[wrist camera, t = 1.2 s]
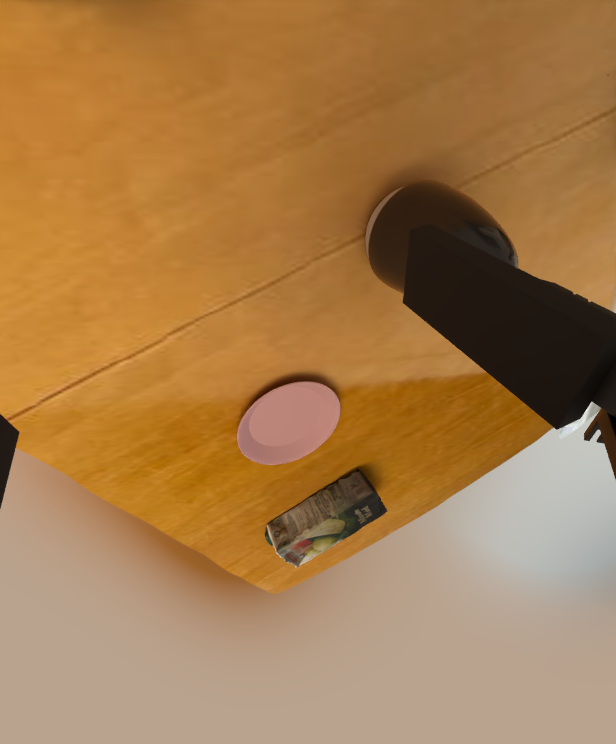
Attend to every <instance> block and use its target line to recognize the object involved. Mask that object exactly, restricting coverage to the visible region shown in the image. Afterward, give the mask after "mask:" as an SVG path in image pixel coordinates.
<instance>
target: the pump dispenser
mask: <svg viewBox="0 0 616 744" xmlns="http://www.w3.org/2000/svg"><path fill="white" fill-rule="evenodd" d="M426 224H431V225H433V226H435V227H437V228H439V229H441V230H443V231H445V232H447V233H449V234H451V235H453V236H455V237H457V238H459V239H461V240H463V241H465V242H467V243H469V244H471V245H473V246H475V247H477V248H479V249H481V250H483V251H485V252H487V253H489V254H491V255H493V256H495V257H497V258H499V259H501V260H503V261H505V262H506V263H508V264H510V265H512V266H514V267H516V268H518V256H517V253H516V250H515V247H514V245H513V243H512V241H511V239H510V238H509V236H508V235H507V233H506V232H505V231H504V229H503V228H502V227H501V225H500V224H499V223H498V222H497V221H496V220H495V218H494V217H493V216H492V215H491V214H490V213H489V212H488V211H487V210H486V209H485V208H483V207H482V206H481V205H480V204H479V203H477V202H476V201H475V200H473V199H472V198H470V197H469V196H467V195H465V194H464V193H462V192H460V191H458V190H457V189H455V188H453V187H451V186H449V185H446V184H444V183H441V182H437V181H432V180H422V181H417V182H414V183H411V184H409V185H407V186H403V187H401V188H399V189H397V190H395V191H393V192H392V193H390V194H389V195H388V196H386V197H385V198H384V199H383V200H382V201H381V202H380V203H379V205H378V206H377V207H376V209H375V210H374V212H373V214H372V216H371V218H370V220H369V223H368V226H367V230H366V236H365V246H366V252H367V256H368V259H369V261H370V265H371V268H372V270H373V272H374V273H375V275H376V276H377V277H378V278H379V279H380V280H381V281H382V282H383V283H385V284H386V285H388V286H389V287H391V288H393V289H395V290H397V291H399V292H401V293H403V294H404V284H405V273H406V262H407V251H408V240H409V229H412V228H416V227H419V226H423V225H426Z"/></svg>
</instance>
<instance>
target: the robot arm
mask: <svg viewBox="0 0 616 744" xmlns="http://www.w3.org/2000/svg"><path fill="white" fill-rule="evenodd" d="M403 303H404V304H405V305H406V306H407V307H409V308H410V309H411V310H412V311H413V312H415V313H416V314H417V315H418V316H419V317H421V318H422V319H423V320H424V321H426V322H427V323H428V324H429V325H430V326H432V327H433V328H434V329H435V330H436V331H438V332H439V333H440V334H441V335H443V336H444V337H445V338H446V339H447V340H449V341H450V342H451V343H452V344H453V345H455V346H456V347H457V348H458V349H460V350H461V351H462V352H463V353H464V354H466V355H467V356H468V357H469V358H470V359H472V360H473V361H474V362H475V363H476V364H478V365H479V366H480V367H481V368H483V369H484V370H485V371H486V372H487V373H489V374H490V375H491V376H492V377H493V378H495V379H496V380H497V381H498V382H500V383H501V384H502V385H503V386H504V387H506V388H507V389H508V390H509V391H510V392H512V393H513V394H514V395H515V396H517V397H518V398H519V399H520V400H521V401H523V402H524V403H525V404H526V405H527V406H529V407H530V408H531V409H532V410H534V411H535V412H536V413H537V414H538V415H540V416H541V417H542V418H543V419H544V420H546V421H547V422H548V423H549V424H550V425H552V426H553V427H554V428H555V429H559V428H562V427H564V426H566V425H568V424H570V423H572V422H574V421H576V420H578V419H580V418H581V417H582V415H583V414H584V412H585V411H586V409H587V408H588V406H589V404H590V403H591V401H592V402H594V403H595V404H597V405H598V406H599V407H601V410H600V411H599V413H598V414H597V416H596V417H595V418H594V420H593V421H592V423H591V424H590V426H589V427H588V429H587V430H586V432H585V433H584V440H587V441H590V439H591V438H592V436H593V435H594V434H595V432H596V431H597V430H599V429H600V431H601V435H600V436H599V438H598V439H597V442H599V443H604V444H605V447H606V450H607V453H608V456H609V459H610V463H611V466H612V469H613V472H614V476H615V479H616V313H614V312H612V311H610V310H608V309H606V308H604V307H602V306H600V305H598V304H596V303H594V302H588V299H586V298H584V297H582V296H580V295H578V294H575V295H574V294H573V292H572V291H570V290H568V289H566V288H564V287H562V286H560V285H558V284H556V283H553V282H549V281H545V280H541V279H538V278H536V277H534V276H532V275H530V274H528V273H526V272H524V271H522V270H520V269H518V268H516V267H514V266H512V265H510V264H508V263H506V262H505V261H503V260H501V259H499V258H497V257H495V256H493V255H491V254H489V253H487V252H485V251H483V250H481V249H479V248H477V247H475V246H473V245H471V244H469V243H467V242H465V241H463V240H461V239H459V238H457V237H455V236H453V235H451V234H449V233H447V232H445V231H443V230H441V229H439V228H437V227H435V226H433V225H431V224H426V225H423V226H419V227H416V228H412V229H409V240H408V251H407V262H406V273H405V284H404V296H403ZM18 435H19V431H18V430H17V429H15V428H14V427H13V426H12V425H11V424H10V423H9V422H8V421H7V420H6V419H5V418H4V417H3V416H2V415H1V414H0V508H1V503H2V500H3V496H4V492H5V488H6V484H7V480H8V475H9V471H10V468H11V463H12V460H13V456H14V452H15V448H16V443H17V439H18Z"/></svg>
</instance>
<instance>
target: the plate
mask: <svg viewBox="0 0 616 744" xmlns="http://www.w3.org/2000/svg"><path fill="white" fill-rule="evenodd" d="M339 417H340V402H339V399H338V397H337V395H336V394H335V393H334V392H333V391H332V390H331V389H330V388H329V387H327V386H325V385H323V384H320V383H317V382H309V381H302V382H294V383H289V384H286V385H283V386H280V387H278V388H276V389H273V390H271V391H270V392H268V393H266V394H265V395H263V396H262V397H261V398H259V399H258V400H257V401H256V402H255V403H254V404H253V405H252V406H251V407H250V408H249V409H248V410H247V411H246V413H245V414H244V416H243V418H242V419H241V421H240V424H239V427H238V431H237V442H238V446H239V448H240V450H241V452H242V453H243V454H244V455H245V456H246V457H247V458H248V459H250V460H252V461H254V462H257V463H260V464H267V465H277V464H284V463H288V462H292V461H295V460H297V459H300V458H302V457H304V456H306V455H308V454H309V453H311V452H313V451H314V450H315V449H317V448H318V447H319V446H321V445H322V444H323V443H324V442H325V441H326V440H327V439H328V438H329V436H330V435H331V434H332V432H333V431H334V429H335V427H336V425H337V423H338V420H339Z"/></svg>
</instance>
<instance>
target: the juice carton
mask: <svg viewBox="0 0 616 744" xmlns="http://www.w3.org/2000/svg"><path fill="white" fill-rule="evenodd" d="M324 489H325V488H324ZM324 489H323V490H321V491H319V492H317V494H316V495H314V496H311V497H310V498H308V499H306V500H305V501H303V502H302V503H300V504H299V505H297V506H295V507H294V508H292V509H291V510H289V511H288V512H285V513H284V514H282V515H280V516H278V517H277V518H275V519H274V520H273V521H272V522H271V523H269V524H268V525H267V530H266V532H265V537H266V540H267V542H268V543H269V544H270V545H271V546H272V545H273V546H274V548H275V551H276V553H277V554H278V555H279V556H280V557H281V558H284V561H286V562H288V563H289V562H290V563H292V565H294V566H295V567H296V568H297V567H298V566H300V565H302V564H304V563H306V562H308V561H309V560H311V559H312V558H314V557H315V556H317V555H319V554H321V553H322V552H324V551H326V550H328V549H329V548H331V547H333V546H334V545H336V544H337V543H339V542H341V541H342V540H344V539H345V538H347V537H349V536H350V535H352V534H354V533H355V532H357V531H358V530H359V529H361V528H362V527H363V526H365V525H367V524H368V523H370V522H372V521H374V520H375V519H377V518H379V517H380V516H382V515H383V514H385V513H386V512H387V509H386V508H385V506H384V505H383V502H381V498H380V497H379V495H378V493H377V492H376V490H375V489H374V487H373V486H372V485H371V484H370V482H369V481H368V480H367V478H366V477H365V476H364V474H363V473H362V471H360V470H358V469H357V472H356V473H353V472H352V473H351V476H350V477H347V479H345V478H344V479H343V480H342V479H340V480H338V482H337V483H334V484H333V485H329V486H328V487H327V489H326V490H324Z"/></svg>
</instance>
